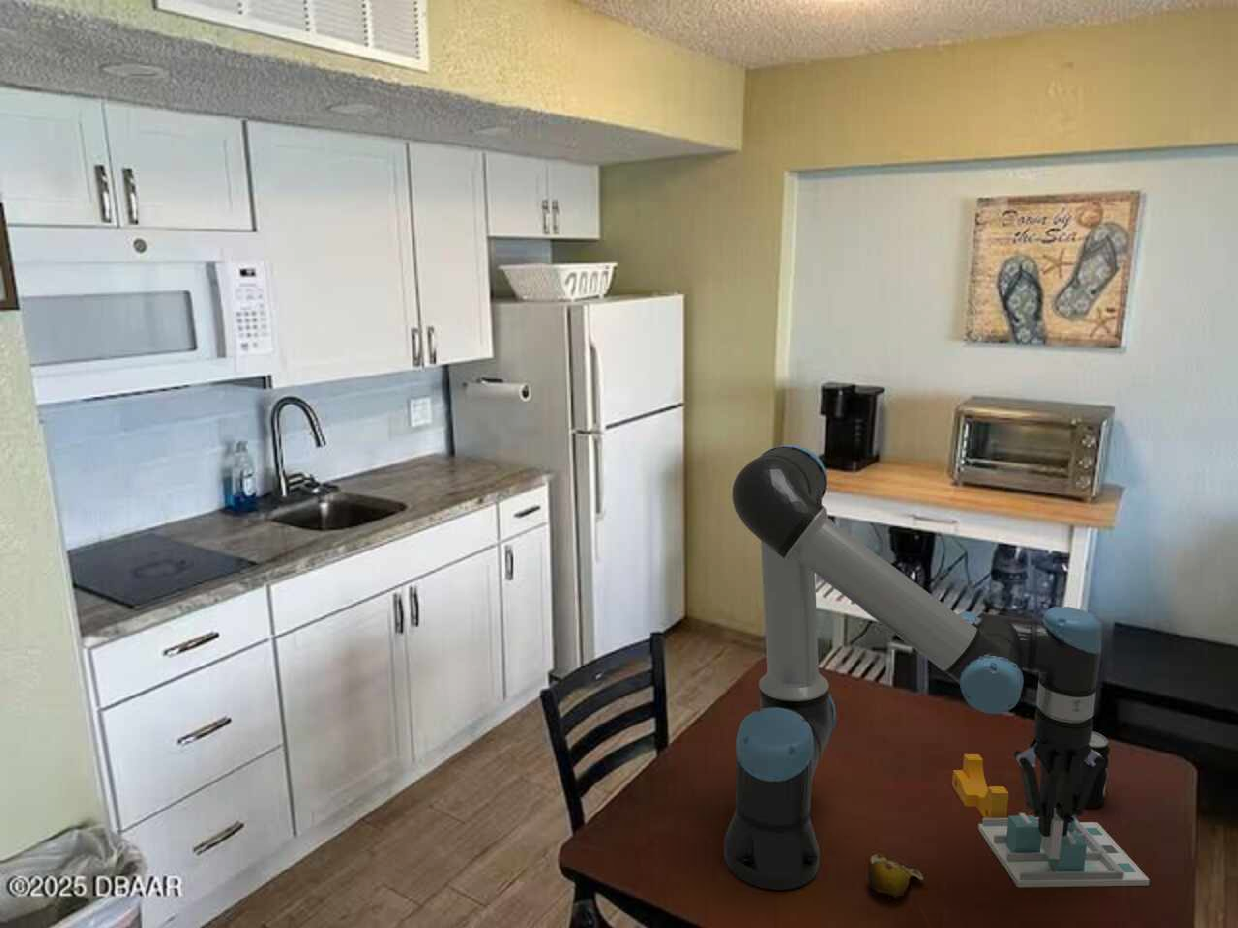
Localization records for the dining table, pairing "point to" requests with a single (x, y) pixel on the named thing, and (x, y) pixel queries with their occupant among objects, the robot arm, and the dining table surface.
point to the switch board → (1034, 870)
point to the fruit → (890, 876)
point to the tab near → (1070, 854)
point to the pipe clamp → (979, 789)
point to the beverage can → (1099, 785)
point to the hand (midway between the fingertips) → (1050, 853)
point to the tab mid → (1023, 834)
